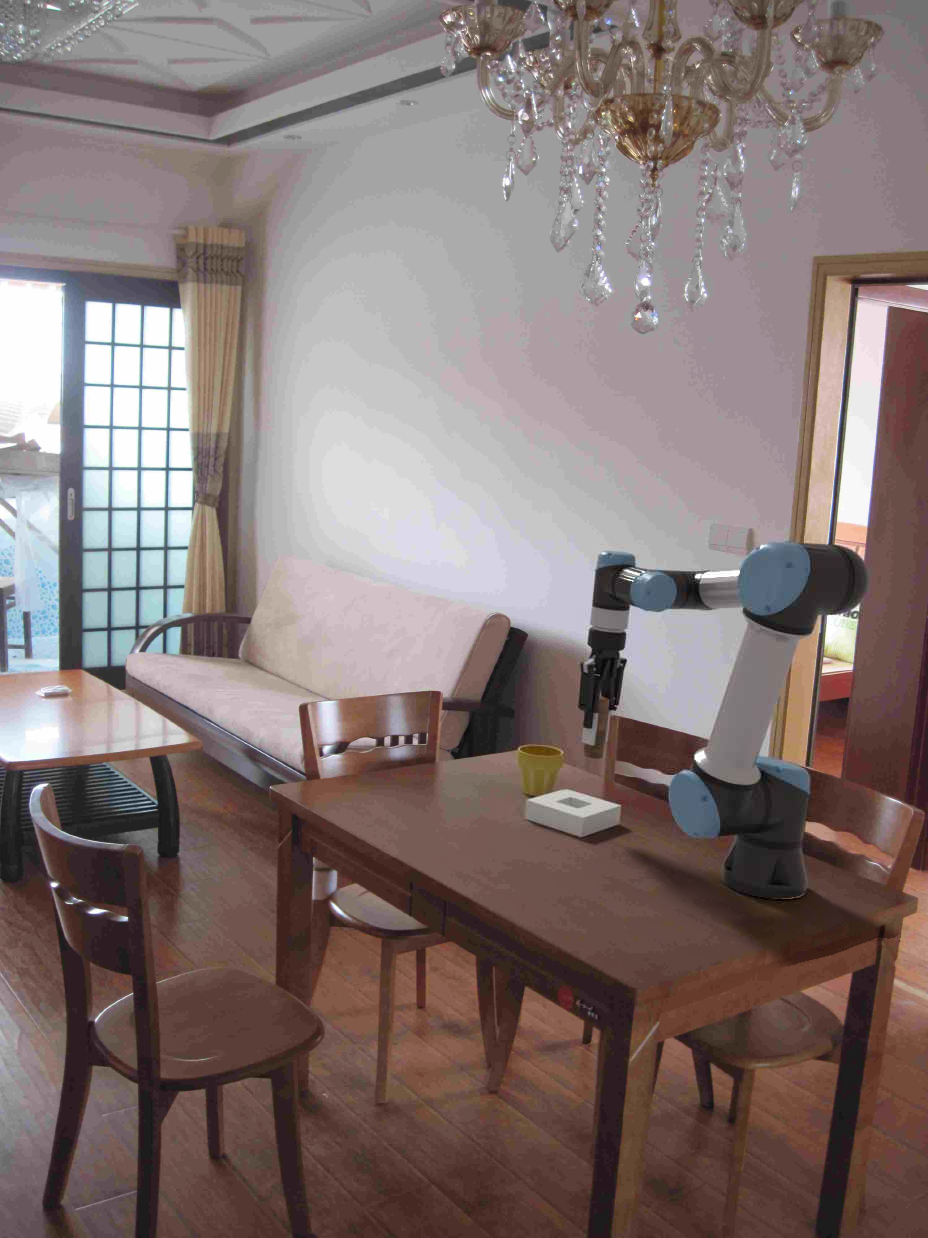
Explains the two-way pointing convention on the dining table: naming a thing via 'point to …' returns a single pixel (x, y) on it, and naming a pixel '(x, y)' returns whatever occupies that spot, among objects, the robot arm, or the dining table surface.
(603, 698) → the peg
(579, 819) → the socket block
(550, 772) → the plant pot
